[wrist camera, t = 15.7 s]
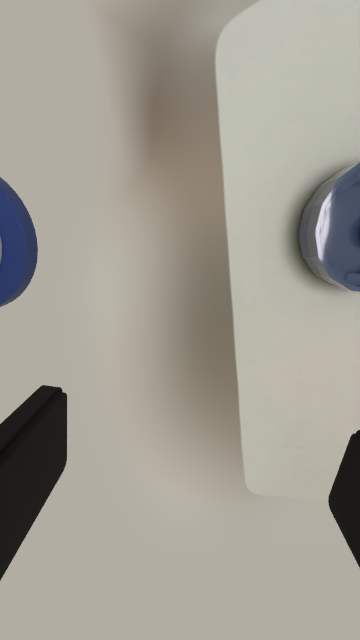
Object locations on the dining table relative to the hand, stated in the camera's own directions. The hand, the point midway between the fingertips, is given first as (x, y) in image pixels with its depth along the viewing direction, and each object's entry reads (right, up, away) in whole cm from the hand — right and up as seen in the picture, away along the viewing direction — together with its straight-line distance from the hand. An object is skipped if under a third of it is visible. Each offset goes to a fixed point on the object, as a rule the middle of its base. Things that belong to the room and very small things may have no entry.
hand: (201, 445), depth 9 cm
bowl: (+20, +15, +22) cm, 33 cm away
